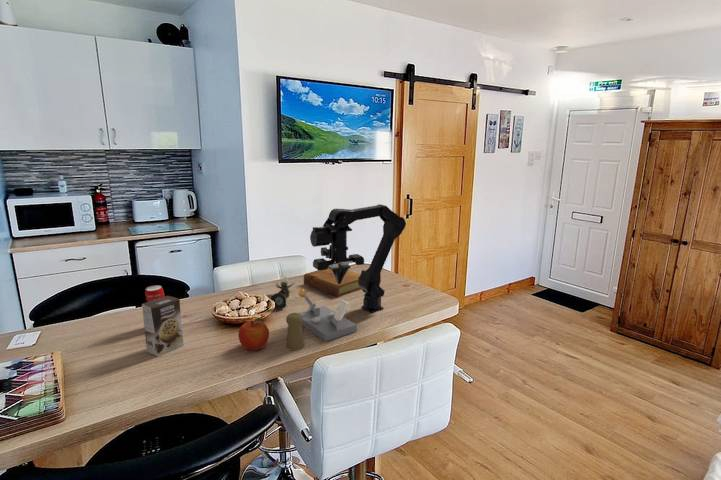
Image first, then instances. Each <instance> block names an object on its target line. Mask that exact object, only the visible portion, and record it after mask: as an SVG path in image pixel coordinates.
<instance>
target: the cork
mask: <svg viewBox="0 0 721 480" xmlns="http://www.w3.org/2000/svg"><path fill="white" fill-rule="evenodd" d="M299 313H300V312H291V313H289V314H287V316H286V317H285V318H286V319H285V321H286V324H287V331H286V332H287V333H286V340H285V348H286V349H287V350H288V351H299V350H302V349H303V348H305V339H304V334H303V327H302V325H301V323H302V321H303V318H302V315H301V314H299Z"/></svg>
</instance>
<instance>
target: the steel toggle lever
mask: <svg viewBox="0 0 721 480" xmlns="http://www.w3.org/2000/svg"><path fill="white" fill-rule="evenodd" d="M297 295H298V296H299V297H300V298H303V299H304V300H305V301H306V303H307V304H308V305H310V307H311V308H310V309H311V310H312V311H313V312H314V307H317V306H316V304H315V305H313V304H312V303H313V302H312V301H311V300H310V298H309V297H308V295H307V291H306V289H304V288H301V289H299V290H298V292H297Z"/></svg>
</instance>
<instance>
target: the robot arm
mask: <svg viewBox="0 0 721 480" xmlns="http://www.w3.org/2000/svg"><path fill="white" fill-rule="evenodd" d="M376 217H378V218H380V220H381V221H382V222H383V225H382V231H383V235H382V237H381V239H380V241H379V244H378V246H377V248H376V251H375V254H374V256H373V258H372V260H371V262H370V265H369V267H368V268H367V269H366V270H364V269H362V270H361V272H360V274H361V275H360V277H359V278H358V279H359V282H358V284H359V287H360V288H362V289H361V290H362V292H363V293H364V294H363V295H364V296H363V300H362V301H363V305H361V308H362V309H364V310H366V311H368V313H369V312H370V313H375V312H376V311H377V312H378V311H381V310H384V307H383V306H382V297H384V296H385V291H386V290H384V289H383V288H382V287H381V286H380V284H381V281H382V276H381V273H382V270H383V268H384V265H385V263H386V261H387V258H388V256H389V255H390V254H389V253H390V252H391V249H392V247H393V245H394V242H395V240H396V238H398V237H399V236H400V235H401V234H403V231H404V230H405V228H406V225H407V222H406V220H405V218H404V217H402V216H400V215H398V214H397V213H396V212H394V211H392V209H390V208H389V207H388V206H387V205H385V204H380V203H379V204H377V205H372V206H366V207H359V208H353V209H349V208H348V209H346V208H333V209H331V211H330V212H329V214H328V217H327V219H326V220H325V222H324V223H323V225H322V226H313V227H312V230H311V231H310V232H311V233H310V235H309V238H310V239H309V240H310V244H311V246H312V247H313V248H315V247H320V256H321V257H323V258H314V260H313V261H312V267H313V268H315V269H316V271H317V270H326V269H327V268H330V269H331V270H332V271H333V273H334V275H335V278H336V281H337V283H338V284H341V282H342V280H343V277H344V275H345V274H346V272H347V270H348V271H349V269H351V265H350V264H352V263H355V264H356V266H362V265H365V259H364V257H363V256H362V255H360V254H358V253H352V254H349V255H347V253H348V252H347V251H348V250H349V246H348V245H347V243H348V242H347V240H348V239H347V238H348V237H347V235H348V234H347V232H352V231H353V229H352V228H351V227H350V226H349V225H351V224H353V223H354V222H357V221H359V220H366V219H370V218H376ZM322 246H323V247H322ZM324 246H325V247H324ZM327 246H329V247H328V248H327ZM324 257H325V258H326V259H325V258H324ZM327 259H329V260H327Z"/></svg>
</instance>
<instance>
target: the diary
mask: <svg viewBox="0 0 721 480" xmlns="http://www.w3.org/2000/svg"><path fill="white" fill-rule="evenodd" d="M360 275H361V273H357V272H354V271H351V270H349V269H348V270H347V272H346V274H345V275H344V277H343V280H342V282H341V284H338V283H337V281H336V278H335V275H334V273H333V271H332V270H331V269H330V268H327V269H326V270H317V269H316V270H313V271H311V272H306V273H304V275H303V284H304V285H305V286H307V285H308V287H310V288H313V289H315V288H316V289H315V290H319V291H321V292H324V293H327V294H329V295H332V296H335V297H337V298H340V297H342V296H343V297H344V296H345V295H349V294H351V293H354V292H357V291H360V290H362V288H360V287H359V284H358V282H359V279H358V278H359V277H360Z"/></svg>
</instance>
